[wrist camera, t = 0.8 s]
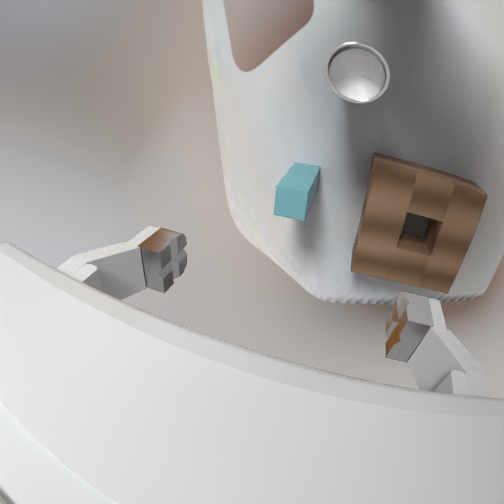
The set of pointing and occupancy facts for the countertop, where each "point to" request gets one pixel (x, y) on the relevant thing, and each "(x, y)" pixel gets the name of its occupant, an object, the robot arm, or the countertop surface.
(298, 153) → the countertop surface
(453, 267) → the socket block
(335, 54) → the beer glass
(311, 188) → the peg
